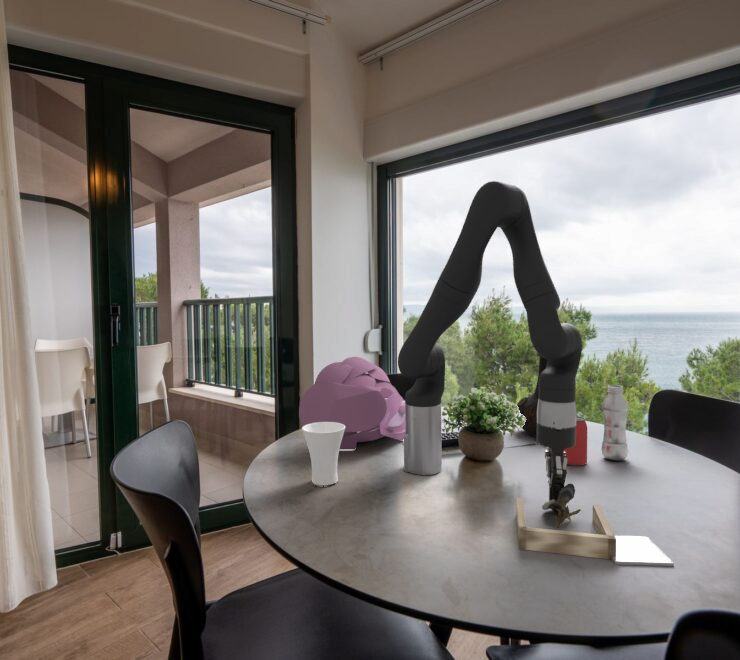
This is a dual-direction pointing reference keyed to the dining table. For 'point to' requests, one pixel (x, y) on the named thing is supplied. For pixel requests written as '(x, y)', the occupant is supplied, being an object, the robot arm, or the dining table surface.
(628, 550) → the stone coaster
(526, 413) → the glass bottle
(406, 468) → the robot arm
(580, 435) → the beer can
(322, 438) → the cup
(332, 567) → the dining table surface
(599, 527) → the frame
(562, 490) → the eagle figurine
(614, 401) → the plastic bottle
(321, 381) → the purple rounded folded piece
